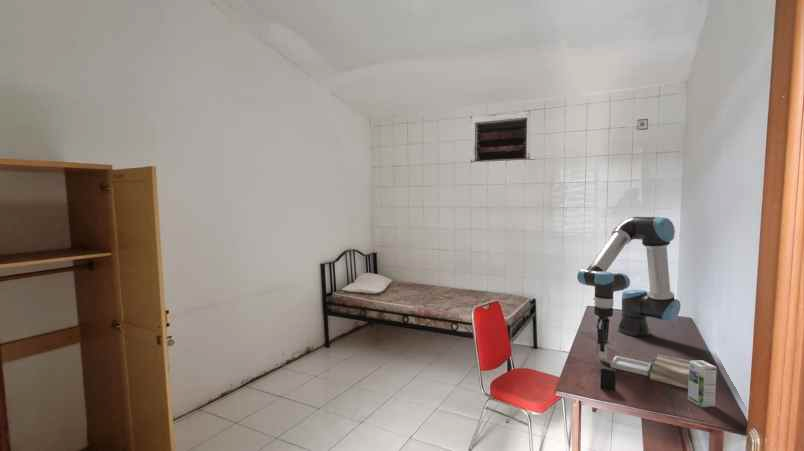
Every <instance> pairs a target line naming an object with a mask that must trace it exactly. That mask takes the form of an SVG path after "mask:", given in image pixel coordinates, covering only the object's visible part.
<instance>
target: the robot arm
mask: <svg viewBox="0 0 804 451" xmlns="http://www.w3.org/2000/svg"><path fill="white" fill-rule="evenodd" d="M675 234H676V230H675V226H674V224H673V221H671V219H669V218H668V217H660V216H633V217H629V218H627V219H625V220H623V221H622V222H621V223H618V225H617V226H615V228H614V229H613V230H612V232H611V237H610V238H609V239H608V241H607V242H606V243H605V245H604V246H603V247H602V249H601V250H600V252H599V253H598V254H597V255H596V257H595V258H594V259H593V260H592V262H591V263H590V264H589V266H588V267H587V269H586V268H582V269H580V270H579V271H578V272H577V282H579V283H580V284H582V285H585V286H591V287H594V297H593V298H592V300H593V301H594V307H593V312H594V315H595V316H598V319H597V324H596V329H597V330H596V332H597V333H596V334H597V345H599V346H598V347H599V348H598V350H599V351H598V358H599V359H604V360H606V359H607V356H608V354H607V350H608V349H607V346H608V345H607V344H610V342H609V330H610V322H611V320H610V318H612V317H613V316H614V308H613V307H614V292H619V291H623V292H622V293H621V317H620V320H619V322H618V325H617V331H618V332H620V334H624V335H627V336H633V337H647V336H650V334H651V329H650V327H649V324H648V320H647V318H653V319H656V320H659V321H660V320H661V321H666V322H673V321H675V320H676V319H677V318H678V316H679V314H680V311H681V301H680V300H678V299H677V298H675V293H673V292H672V291H671V286H670V284H671V283H670V282H671V281H670V274H669V273H670V272H669V261H668V260H669V259H668V248H667V247H668V246H669V245H670V243H671V242H672V241H673V240H674V238H675ZM633 240H641V244H642V245H643V246H644V247H645V249H646V257H647V258H646V262H647V270H648V282H649V292H648V291H647V290H645V289H628V288H629V287H630V285H631V280H630V277H629V276H628V275H627V274H625V273H618V272H617V273H613V272H610V271H608V270H609V268H610V267H611V266H612V264H614V262H615V260H616V258H617V257H618V256H619V255H620V254H621V252H622V250H623V249H624V247H625V246H626V245H628V244H630V243H631V242H632V241H633Z"/></svg>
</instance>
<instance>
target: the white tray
mask: <svg viewBox="0 0 804 451" xmlns="http://www.w3.org/2000/svg"><path fill="white" fill-rule="evenodd" d="M651 363H652V362H646V361H641V360H638V359H633V358H628V357H624V356H619V355H615V356H614V357H613V359H612V360H611V361H610V365H609V368H613V369H615V370H616V369H617V370H621V371H626V372H628V373H629V372H630V373H633V374H638V375H643V376H646V377H649V376H650V365H651Z"/></svg>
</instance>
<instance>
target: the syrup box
mask: <svg viewBox="0 0 804 451" xmlns="http://www.w3.org/2000/svg"><path fill="white" fill-rule="evenodd" d="M688 361H689V384H688V388H687V400H688V401H690V402H692V403H693V404H695V405H696V406H698V407H699V408H707V407H708V408H709V407H710V406H711V407H715V406H716V391H717V390H716V388H717V365H716V366H715V365H713V364H711V363H709V362H707V361H705V360H701V359H700V360H699V359H697V360H696V359H694V360H688ZM711 407H710V408H711Z"/></svg>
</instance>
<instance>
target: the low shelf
mask: <svg viewBox="0 0 804 451" xmlns="http://www.w3.org/2000/svg"><path fill="white" fill-rule="evenodd" d="M689 361H690V360H687V359H682V358H678V357H673V356H668V355H663V354H659V353H656V354H654V357H653V359H652V361H651V362H650V363H651V365H650V373H649V380H652V381H655V382H659V383H663V384H668V385H672V386H676V387H680V388H684V389H688V384H689Z"/></svg>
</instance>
